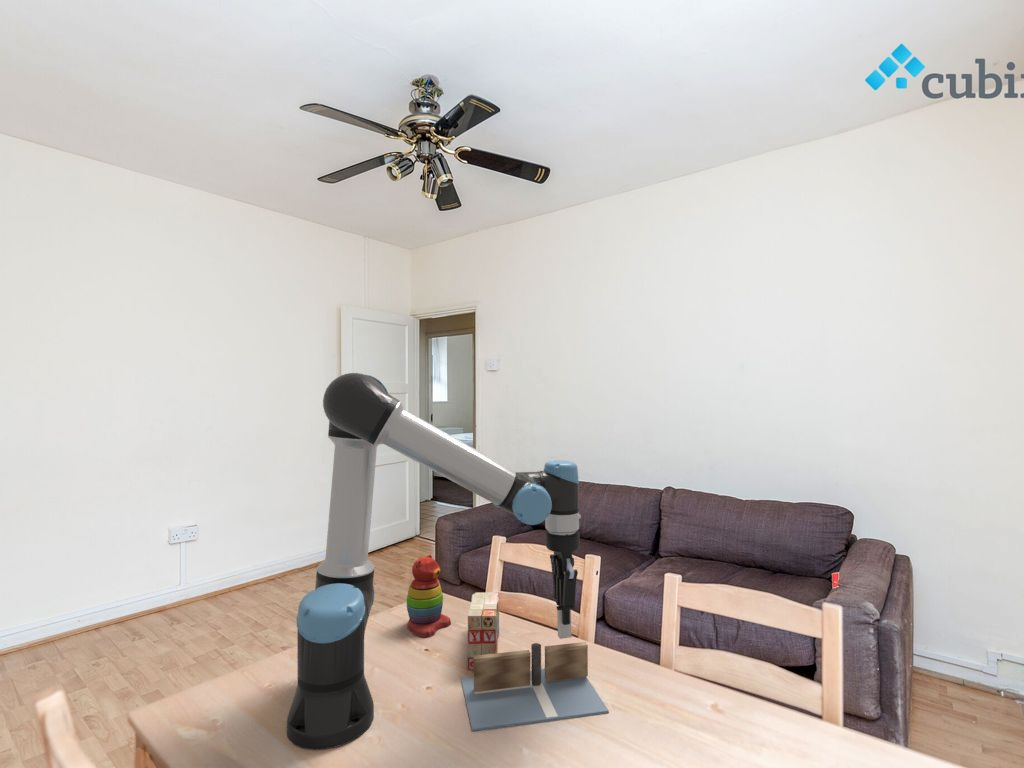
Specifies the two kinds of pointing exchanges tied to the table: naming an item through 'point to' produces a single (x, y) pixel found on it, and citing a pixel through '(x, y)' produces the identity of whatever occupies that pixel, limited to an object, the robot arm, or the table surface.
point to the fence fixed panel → (507, 669)
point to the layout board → (531, 703)
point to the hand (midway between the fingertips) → (564, 636)
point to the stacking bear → (425, 599)
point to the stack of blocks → (483, 626)
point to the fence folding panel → (566, 661)
